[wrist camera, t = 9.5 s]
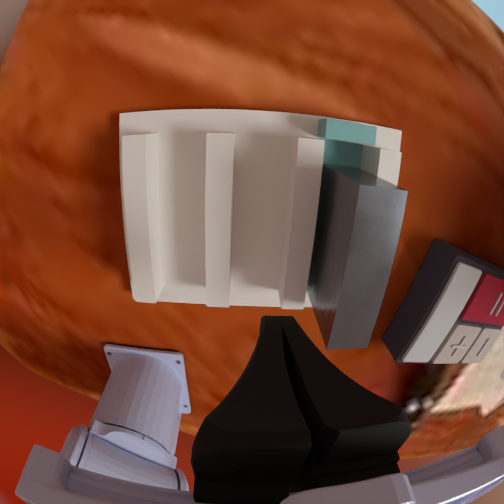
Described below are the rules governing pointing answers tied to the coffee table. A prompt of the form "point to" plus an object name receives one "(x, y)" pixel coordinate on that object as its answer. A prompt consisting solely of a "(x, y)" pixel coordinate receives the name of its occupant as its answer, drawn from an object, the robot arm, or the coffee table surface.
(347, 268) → the panel
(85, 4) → the coffee table surface
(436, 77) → the coffee table surface
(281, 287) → the rack
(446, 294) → the calculator
